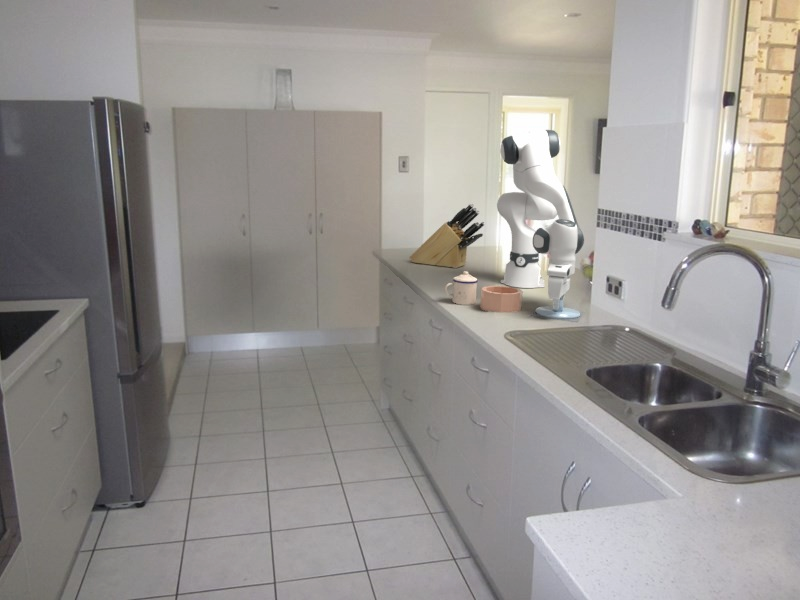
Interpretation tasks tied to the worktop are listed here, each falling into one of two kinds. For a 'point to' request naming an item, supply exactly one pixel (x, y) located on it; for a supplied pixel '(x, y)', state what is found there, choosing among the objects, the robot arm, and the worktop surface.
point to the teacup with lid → (463, 289)
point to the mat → (558, 319)
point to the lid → (558, 312)
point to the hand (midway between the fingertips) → (558, 306)
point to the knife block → (450, 241)
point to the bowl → (501, 299)
